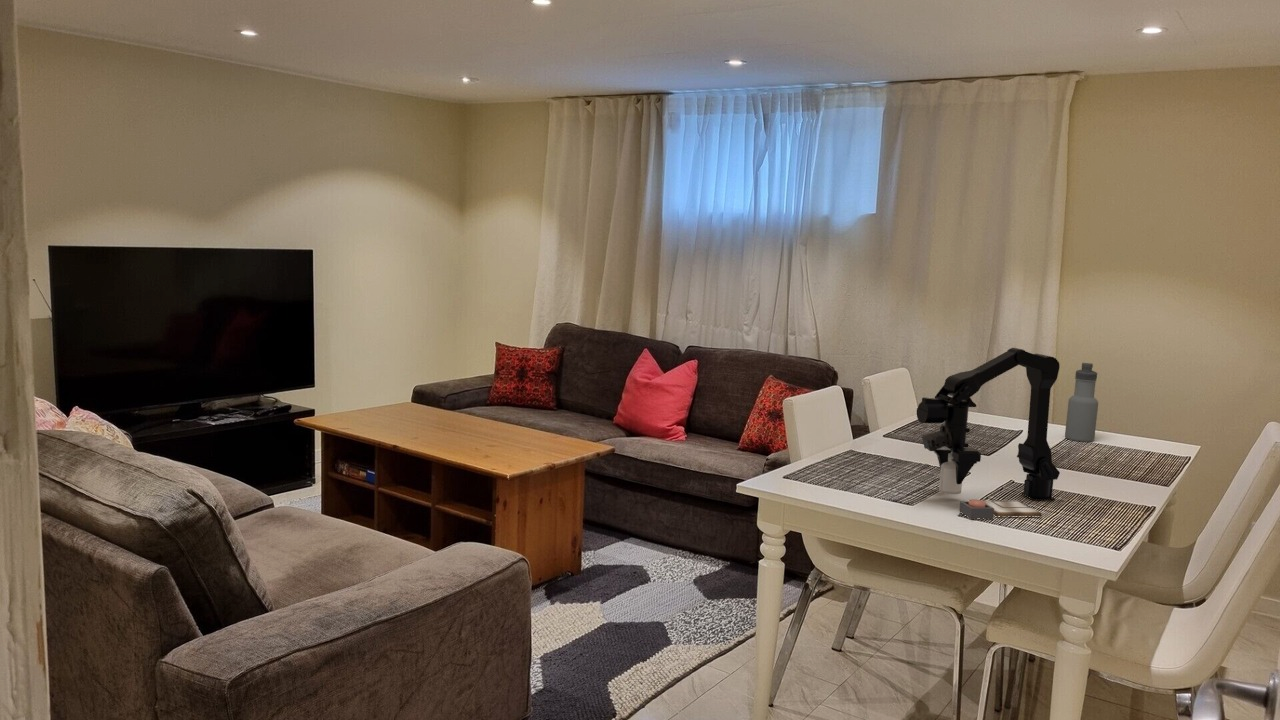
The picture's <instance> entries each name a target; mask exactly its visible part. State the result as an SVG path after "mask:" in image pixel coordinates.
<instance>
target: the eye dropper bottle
mask: <svg viewBox="0 0 1280 720" xmlns="http://www.w3.org/2000/svg"><path fill="white" fill-rule="evenodd" d="M951 459H953V456H952V452H951V453H949V454H948V462H945V463H943V464H942V465H941V470H940V472H939V473H940V474H939V485H938V486H939V487H938V491H939V493H942V494H946V495H960V494H961V493H962V490H963V489H962V487H963V482H962V483H961V484H957V483H956V465H955V464H954V462H953V461H952V460H951Z"/></svg>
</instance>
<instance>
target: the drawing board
mask: <svg viewBox="0 0 1280 720" xmlns="http://www.w3.org/2000/svg"><path fill="white" fill-rule="evenodd" d="M983 501H984V502H985V503H986V504H988V505H989V506H991V507H993V508H994V513H993V514H994V515H995V516H1000V517H1002V516H1007V517H1008V516H1041V517H1042V512H1040V511H1038V510H1037V509H1034V508H1032V507H1031V506H1030V505H1027V504H1026V503H1024V502H1022V501H1020V500H983ZM995 516H994V517H995Z"/></svg>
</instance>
